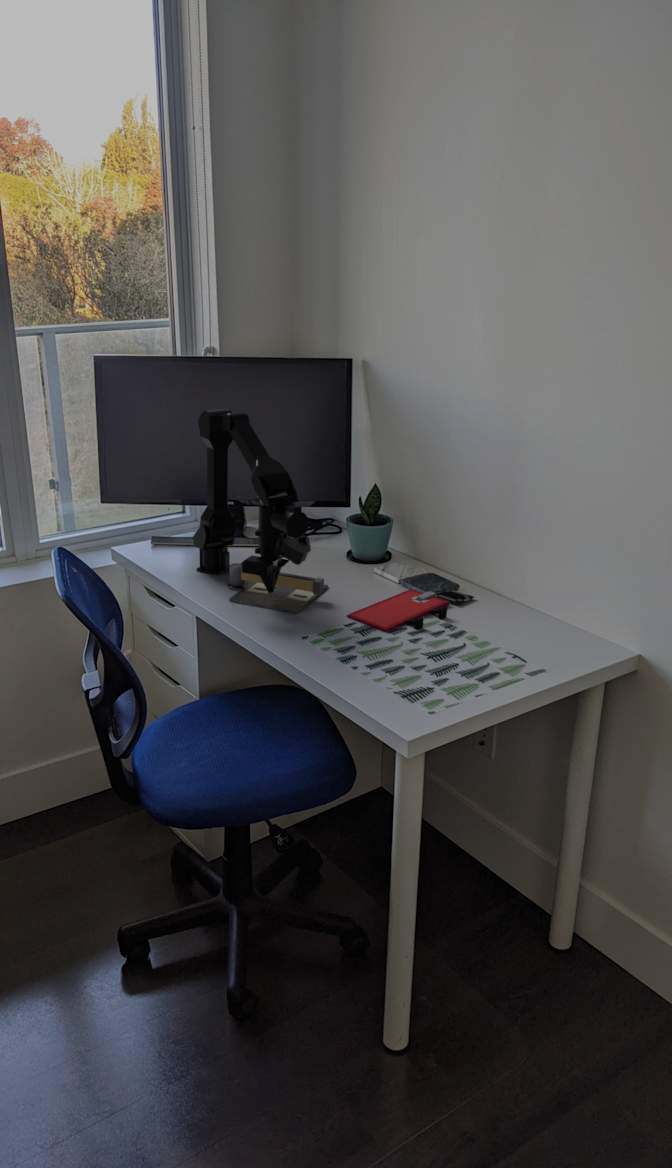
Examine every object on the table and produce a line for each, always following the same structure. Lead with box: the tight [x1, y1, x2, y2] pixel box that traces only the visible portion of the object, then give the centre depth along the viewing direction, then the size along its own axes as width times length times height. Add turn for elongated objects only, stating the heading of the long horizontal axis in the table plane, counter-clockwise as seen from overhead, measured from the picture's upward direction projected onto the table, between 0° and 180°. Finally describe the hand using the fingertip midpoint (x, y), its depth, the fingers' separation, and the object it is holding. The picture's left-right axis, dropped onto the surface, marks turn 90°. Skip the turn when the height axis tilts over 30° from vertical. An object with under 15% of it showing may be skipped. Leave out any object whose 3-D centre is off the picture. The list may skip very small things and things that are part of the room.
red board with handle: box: [346, 588, 475, 634], centre depth 206 cm, size 30×3×15 cm
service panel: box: [226, 581, 329, 615], centre depth 212 cm, size 22×18×1 cm
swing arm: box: [229, 562, 325, 596], centre depth 211 cm, size 23×4×4 cm, turn 69°
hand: (270, 592), depth 205 cm, fingers closed
